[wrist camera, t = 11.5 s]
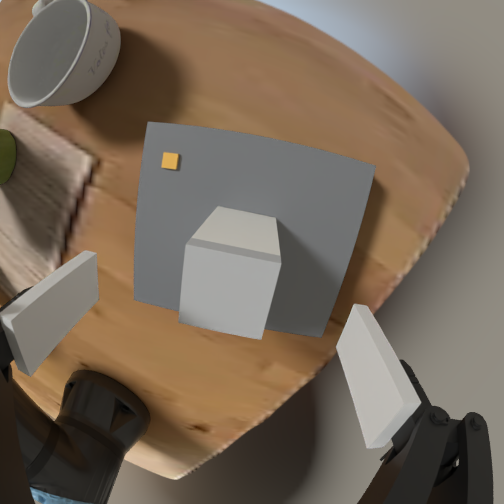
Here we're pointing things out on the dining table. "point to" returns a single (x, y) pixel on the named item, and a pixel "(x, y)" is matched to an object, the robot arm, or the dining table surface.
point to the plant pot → (6, 155)
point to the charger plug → (230, 273)
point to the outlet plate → (254, 201)
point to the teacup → (63, 54)
